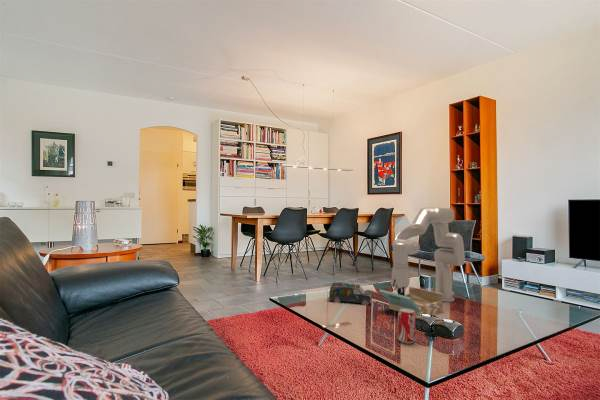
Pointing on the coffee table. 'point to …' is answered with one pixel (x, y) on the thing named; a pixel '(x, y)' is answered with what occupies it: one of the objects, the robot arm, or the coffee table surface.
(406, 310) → the soda can
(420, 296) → the trailer bed
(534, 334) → the coffee table surface
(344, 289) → the toy van
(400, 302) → the panel
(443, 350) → the coffee table surface
